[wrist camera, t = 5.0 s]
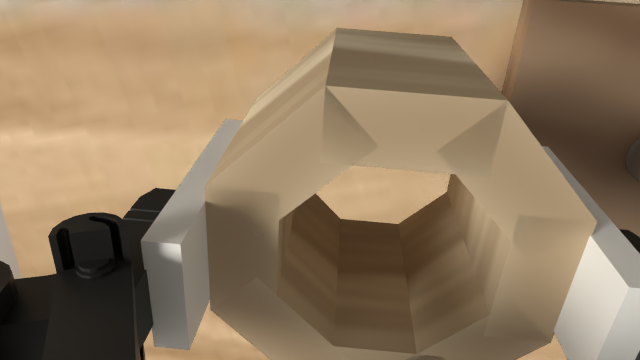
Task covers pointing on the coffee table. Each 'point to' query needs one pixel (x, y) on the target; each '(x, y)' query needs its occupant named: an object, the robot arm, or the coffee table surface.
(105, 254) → the robot arm
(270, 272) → the collar
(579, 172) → the post base
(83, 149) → the coffee table surface
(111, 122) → the coffee table surface
